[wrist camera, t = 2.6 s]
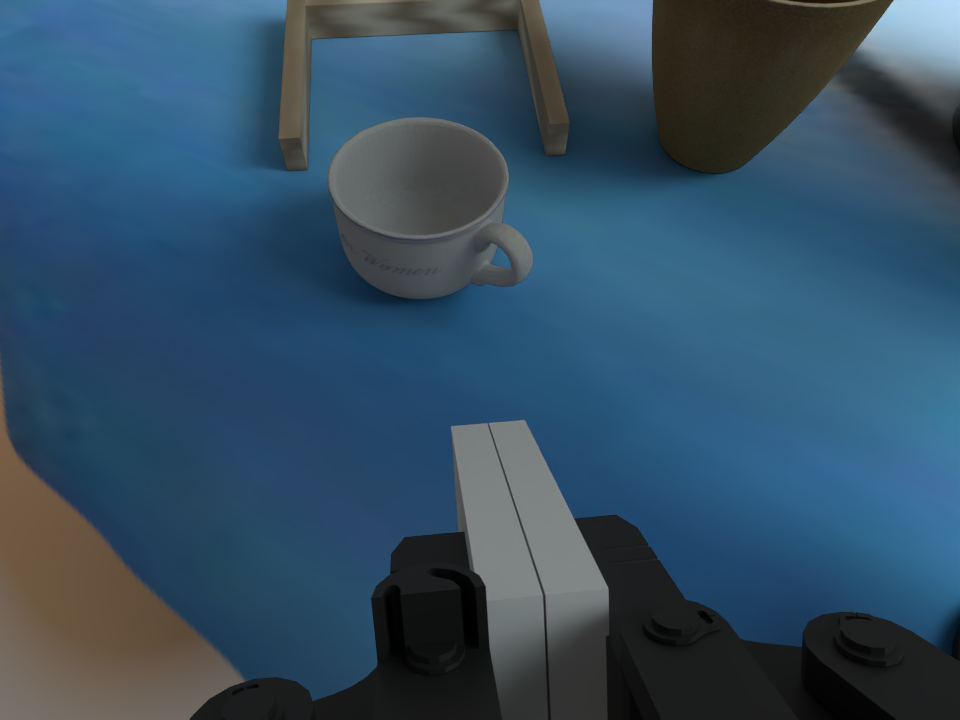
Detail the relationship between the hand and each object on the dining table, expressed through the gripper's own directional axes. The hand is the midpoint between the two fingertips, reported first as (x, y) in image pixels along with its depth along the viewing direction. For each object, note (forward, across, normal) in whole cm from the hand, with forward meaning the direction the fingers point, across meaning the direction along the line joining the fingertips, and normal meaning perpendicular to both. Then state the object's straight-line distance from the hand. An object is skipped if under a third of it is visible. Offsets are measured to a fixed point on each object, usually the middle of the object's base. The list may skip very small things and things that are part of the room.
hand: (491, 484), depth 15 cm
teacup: (+35, 0, +1) cm, 35 cm away
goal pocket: (+48, 0, +14) cm, 50 cm away
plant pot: (+43, +22, +9) cm, 49 cm away
